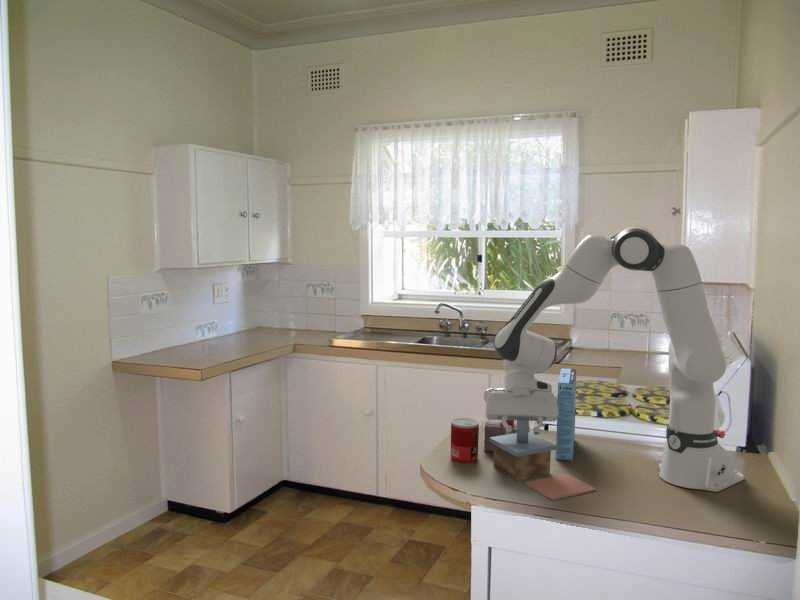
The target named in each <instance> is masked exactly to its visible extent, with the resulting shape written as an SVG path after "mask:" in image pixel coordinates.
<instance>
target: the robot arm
mask: <svg viewBox="0 0 800 600" xmlns="http://www.w3.org/2000/svg"><path fill="white" fill-rule="evenodd" d="M616 266H621V267H623V268H624V269H626V270H629V271H643V272H650V273H651V275H652V278H653V280H654V283H655V289H656V292H657V298H658V301H659V304H660V305H659V306H660V310H661V314H662V318H663V321H664V324H665V326H666V329H667V332H668V335H669V338H670V342H669V345H668V352H667V353H668V376H669V377H668V380H669V383H668V384H669V394H670V395H669V410H668V411H669V414H668V415H669V416H668V424H667V425H666V429H665V438H666V440H665V441H664V445H663V452H662V457H661V461H660V462H659V463H658V469H659V473H658V475H659V477H660V478H661V479H662V480H663V481H665V482H666V483H669V484H670V485H671V484H672V485H674V486H678V487H681V488H686V489H693V490H703V491H704V490H705V491H708V492H712V493H713V492H716V493H717V492H718V493H719V492H720V491H723V490H725V489H726V488H729V487H731V486H733V485H735V484H737V483H740V482H742V481H743V480H745V476H744V474H743V473H741V472H740V471H738V470H736V469H735V458H734V456H733V455H732V453H730V452H729V451H728V450H727V449H726V448H724V447H723V446H722V445H721V444H720V443H719V440H718V438H720V439H724V438H725V436H726V432H725V431H724V430H721V429H719V428H717V429H715V420H716V419H715V418H716V417H715V415H716V404H717V403H716V401H717V400H716V397H715V389H714V383H716V382H718V381H719V380H720V379H722V377H723V376H724V375H725V373H726V370H727V360H726V358H725V355H724V352H723V348H722V345H721V342H720V339H719V336H718V333H717V330H716V327H715V325H714V321H713V319H712V317H711V314H710V311H709V307H708V303H707V298H706V294H705V290H704V285H703V280H702V278H701V273H700V270H699V267H698V265H697V262H696V260H695V257H694V254H693V252H692V251H691V249H690V248H689V247H688V246H687V245H685V244H682V243H668V244H662V243H660V242H659V241H658V239H657V238H656V236H655V235H654V233H652V232H651V230H649V229H647V228H646V227H643V226H636V225H635V226H629V227H627V228H625V229H623V230H622V231H620V232H619V233H617V234H615V235H613V236H612V237H610V238H607V237H605V236H603V235H600V234H589V235H586V236H585V237H584V238H583V239H582V240H581V241H580V242H579V243H578V244H577V246H576V247H575V248H574V249H573V251H572V252H571V254H570V255H569V257H568V258H567V260H566V262H565V263H564V265H563V266H562V267H561V269H560V270H559V271H558V272H557V273H556V274H554V275H553V276H551V277H550V278H547V279H543V280H542V281H541V282H540V283H539V284H538V285H537V286H536V287H535V289H534V290H533V291H532V292H531V293H530V295H528V297H527V298H526V299H525V300H524V301H523V303H522V304H521V305H520V307H519V308H518V309H517V310H516V312H515V314H513V316H512V317H511V318H510V320H508V322H507V323H505V324H504V325H503V326H502V327H501V328H500V329H499V330H498V331H497V332H496V334H495V337H494V340H493V346H494V347H493V348H494V350H495V352H496V354H497V355H498V357H499V359H500V360H503V371H504V374H505V376H504V378H503V380H504V381H503V382H504V385H503V386H504V388H491V387H490V388H488V389H487V390H485V391H484V393H483V400H484V401H485V412H484V413H485V414H484V416H485V417H486V419H487V420H488V421H495V420H496V421H500V422H501V423H502V424H503V426H504V427H505V428H506V434H511V433H512V429H511V428H512V426H509V425H508V424H507V420H514V421H517V419H528V420H529V422H536V424H537V425H536V426H534V427H533V434H534V435H536V436H539V435H541V434H540V433H541V432H540V431H541V430H540V428H541V427H542V425H543V423H544V422H557V418H558V415H559V410H558V405H557V401H558V400H557V398H556V396H555V394H554V393H553V386H552V384H551V383H549V382H545V381H541V380H539V379H536V378H535V375H536V374H540V373H543V372H545V371H547V370H548V369H550V368H551V367H553V366H554V365H555V363H556V361H557V357H558V349H557V345H556V342H555V341H554V340H553V339H551V338H549V337H547V336H545V335H544V336H543V335H542V334H541V335H540V334H538V333H535V332H532V331H530V330H528V329H529V328H530V327H531V325H533V323H534V322H535V321H536V319H537V318H538V317H539V316H540V314H541V313H542V312H544V310H545V309H547V308H549V307H552V306H558V305H579V304H582V303H585V302H588V301H589V300H590V299H592V297H594V295H596V293H597V291H598V289H599V288H600V286H602V283H603V281H604V280H605V278H606V276H607V275H608V273H609V272H610V271H611V270H612V269H613V268H615V267H616Z"/></svg>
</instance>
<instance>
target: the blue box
mask: <svg viewBox="0 0 800 600" xmlns="http://www.w3.org/2000/svg"><path fill="white" fill-rule="evenodd" d="M576 399H577V369H576V368H561V369H560V372H559V376H558V381H557V400H556V401H557V405H558V410H559V415H558V418H557V420H556V438H555V439H556V442H555V445H556V450H555V459H556V460H562V461H570V462H571V461H573V457H574V456H573V455H574V445H575V434H576V433H575V432H576V431H575V429H576V406H577V405H576V403H577V402H576Z"/></svg>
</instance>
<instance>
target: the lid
mask: <svg viewBox="0 0 800 600" xmlns="http://www.w3.org/2000/svg"><path fill="white" fill-rule="evenodd" d="M516 424H517V433H513V434H507V435H501V436H495V437H489V442H491V443H493V444H495V445H496V446H498V447H500V448H502V449H504V450H505V451H507V452H509V453H511V454H512V455H514V456H516V457H519V456H524V455H530V454H535V453H541V452H546V451H556V444H554V443H552V442H550V441H548V440H546V439H544V438H542V437H540V436H539V435H534V433H532V432H531V431H530V432H529V430H530V428H529V427H530V421H529V420H528V419H517V420H516Z"/></svg>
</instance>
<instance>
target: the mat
mask: <svg viewBox="0 0 800 600" xmlns="http://www.w3.org/2000/svg"><path fill="white" fill-rule="evenodd" d="M524 484H525V485H526V486H527V485H528V486H527V487H528V488H531V489H532V488H533V489H532V490H534V491H535V492H537V491H538V492H537V493H539V494H540V493H541V495H542V494H543V495H542V496H543V497H545V496H546V498H547V497H548V498H547V499H549V500H550V499H551V500H550V501H555V500H556V501H557V500H559V499H560V498H561V499H564V498H571V497H575V496H577V495H578V496H579V495H582V494H583V495H584V494H586V493H591V492H595V491H596V490H597V489H596V488H595V487H593V486H592V485H590V484H588V483H585V482H584V481H582V480H580V479H578V478H576V477H575V476H573V475H571V474H569V473H564V474H558V475H555V476H550V477H544V478H540V479H534V480H531V481H525V482H524Z"/></svg>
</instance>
